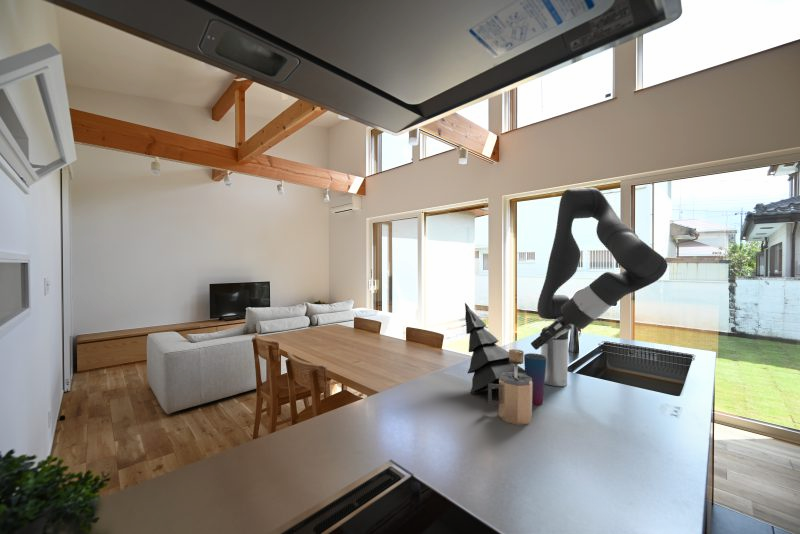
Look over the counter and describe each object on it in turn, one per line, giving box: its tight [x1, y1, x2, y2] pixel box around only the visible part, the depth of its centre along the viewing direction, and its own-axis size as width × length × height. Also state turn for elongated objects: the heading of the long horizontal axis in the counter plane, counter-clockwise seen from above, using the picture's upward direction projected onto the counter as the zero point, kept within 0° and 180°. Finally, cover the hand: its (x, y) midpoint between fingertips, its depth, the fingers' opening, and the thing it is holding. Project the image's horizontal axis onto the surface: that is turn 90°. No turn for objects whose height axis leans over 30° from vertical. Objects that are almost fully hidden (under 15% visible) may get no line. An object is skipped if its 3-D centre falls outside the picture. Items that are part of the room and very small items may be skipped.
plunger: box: [508, 348, 525, 378], centre depth 98 cm, size 4×4×18 cm
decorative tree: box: [464, 302, 525, 398], centre depth 121 cm, size 15×15×35 cm
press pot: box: [487, 372, 533, 426], centre depth 98 cm, size 9×11×12 cm
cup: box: [523, 352, 547, 406], centre depth 110 cm, size 7×7×15 cm
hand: (538, 343), depth 94 cm, fingers open, 8 cm apart
